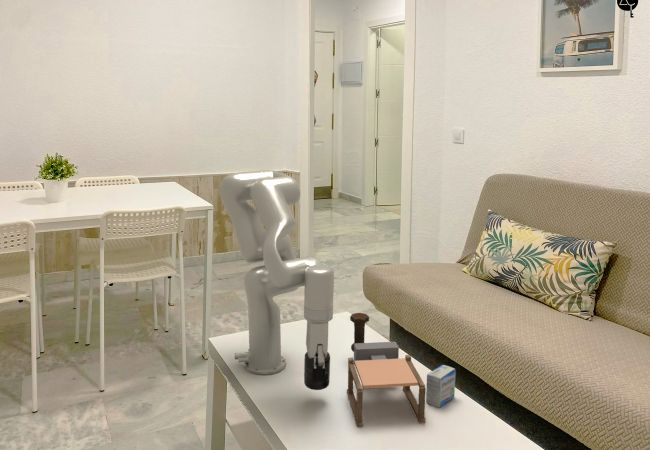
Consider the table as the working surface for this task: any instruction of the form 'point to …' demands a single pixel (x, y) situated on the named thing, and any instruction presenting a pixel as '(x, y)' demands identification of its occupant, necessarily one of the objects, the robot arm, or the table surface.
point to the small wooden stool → (417, 408)
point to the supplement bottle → (309, 370)
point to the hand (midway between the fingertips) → (317, 373)
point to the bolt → (359, 327)
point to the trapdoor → (382, 365)
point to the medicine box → (440, 385)
